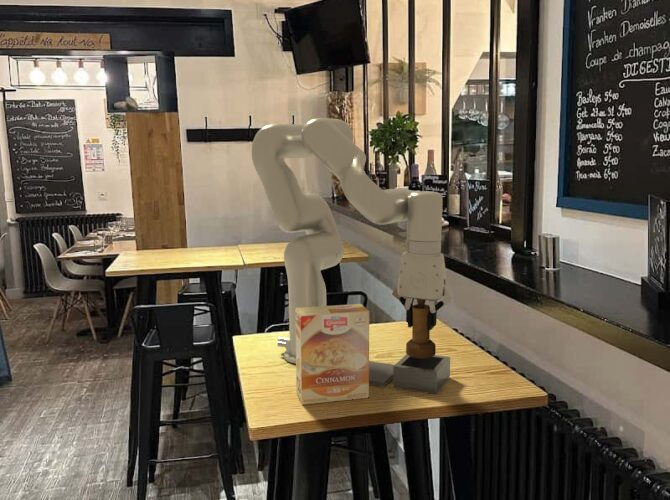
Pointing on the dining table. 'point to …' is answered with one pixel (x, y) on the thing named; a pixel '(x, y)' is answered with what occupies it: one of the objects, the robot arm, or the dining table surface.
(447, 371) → the open square box
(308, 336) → the coffeecake box
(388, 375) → the coaster
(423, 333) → the wooden pepper mill
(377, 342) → the dining table surface
